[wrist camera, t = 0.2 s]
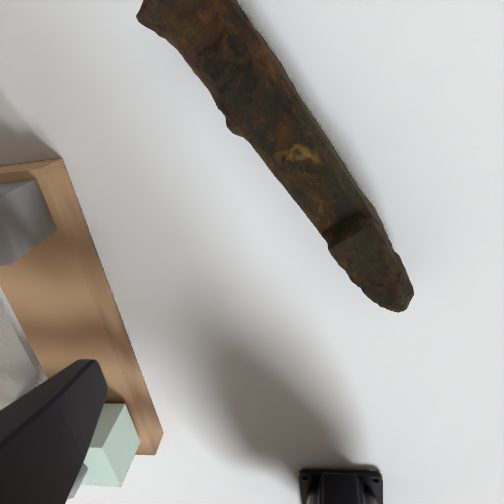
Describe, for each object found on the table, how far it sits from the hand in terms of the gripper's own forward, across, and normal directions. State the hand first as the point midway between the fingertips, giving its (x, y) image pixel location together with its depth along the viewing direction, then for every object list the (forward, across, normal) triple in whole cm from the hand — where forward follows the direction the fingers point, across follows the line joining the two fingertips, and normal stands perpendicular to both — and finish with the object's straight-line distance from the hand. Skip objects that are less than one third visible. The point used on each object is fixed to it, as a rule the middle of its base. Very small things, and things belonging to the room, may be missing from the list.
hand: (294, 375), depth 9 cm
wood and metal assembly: (+15, +21, +10) cm, 27 cm away
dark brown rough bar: (+15, 0, -2) cm, 15 cm away
